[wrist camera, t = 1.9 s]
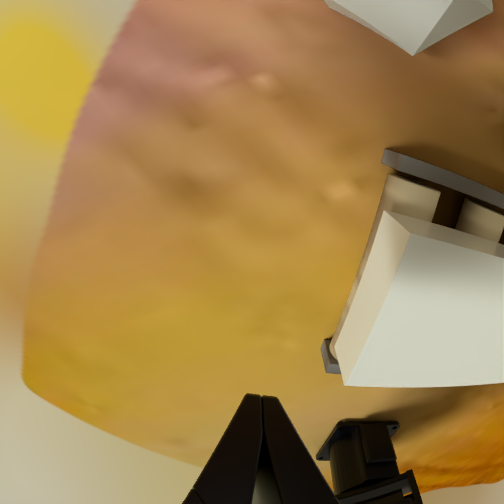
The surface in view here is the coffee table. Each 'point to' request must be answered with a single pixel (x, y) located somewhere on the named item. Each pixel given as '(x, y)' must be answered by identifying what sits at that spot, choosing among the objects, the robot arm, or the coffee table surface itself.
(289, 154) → the coffee table surface
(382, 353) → the slab
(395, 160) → the roller bed
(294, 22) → the coffee table surface
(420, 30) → the die
